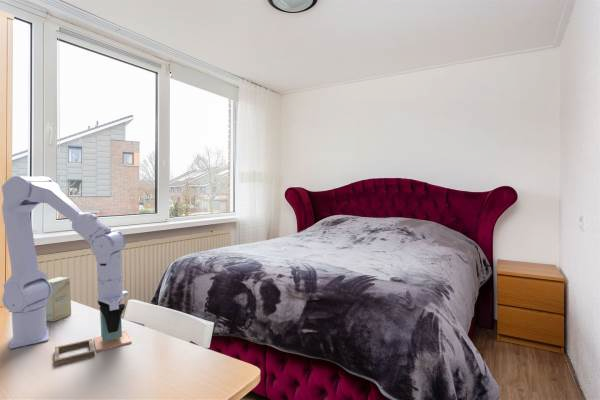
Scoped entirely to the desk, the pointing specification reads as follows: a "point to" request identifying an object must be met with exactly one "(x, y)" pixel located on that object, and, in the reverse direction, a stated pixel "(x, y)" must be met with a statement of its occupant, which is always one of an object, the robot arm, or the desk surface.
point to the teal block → (104, 330)
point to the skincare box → (59, 299)
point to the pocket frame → (77, 356)
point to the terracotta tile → (111, 342)
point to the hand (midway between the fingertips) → (111, 328)
